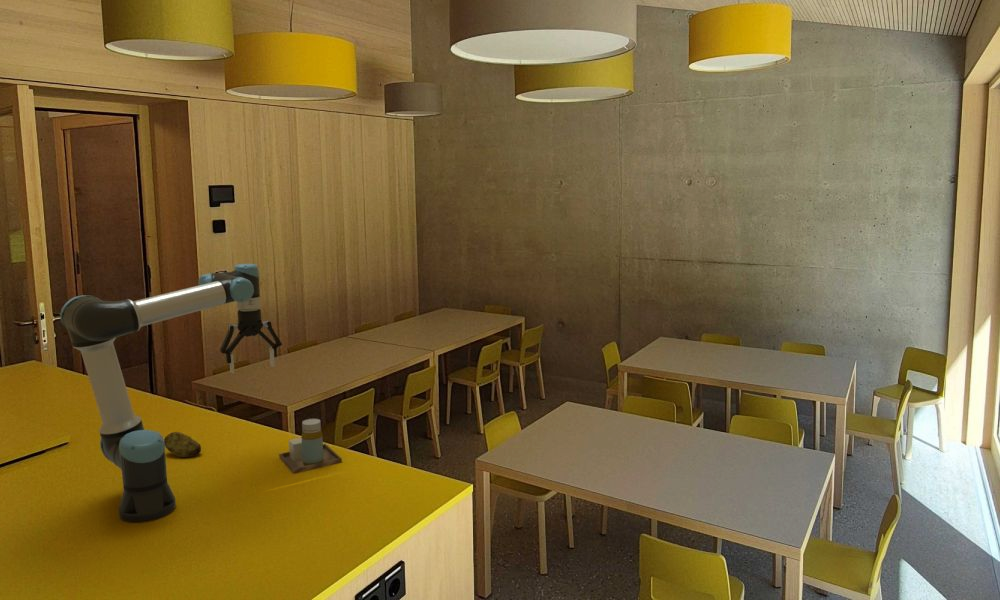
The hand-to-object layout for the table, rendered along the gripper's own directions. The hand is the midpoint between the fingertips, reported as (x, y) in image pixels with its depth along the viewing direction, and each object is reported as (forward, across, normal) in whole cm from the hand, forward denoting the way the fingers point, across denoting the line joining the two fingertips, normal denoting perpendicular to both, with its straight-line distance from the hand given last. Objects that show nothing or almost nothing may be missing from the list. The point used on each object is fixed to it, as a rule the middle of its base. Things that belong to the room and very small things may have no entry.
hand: (252, 369), depth 239 cm
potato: (+33, -22, +18) cm, 43 cm away
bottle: (+32, +14, -16) cm, 39 cm away
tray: (+33, +14, -13) cm, 38 cm away
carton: (+32, +14, -8) cm, 36 cm away
